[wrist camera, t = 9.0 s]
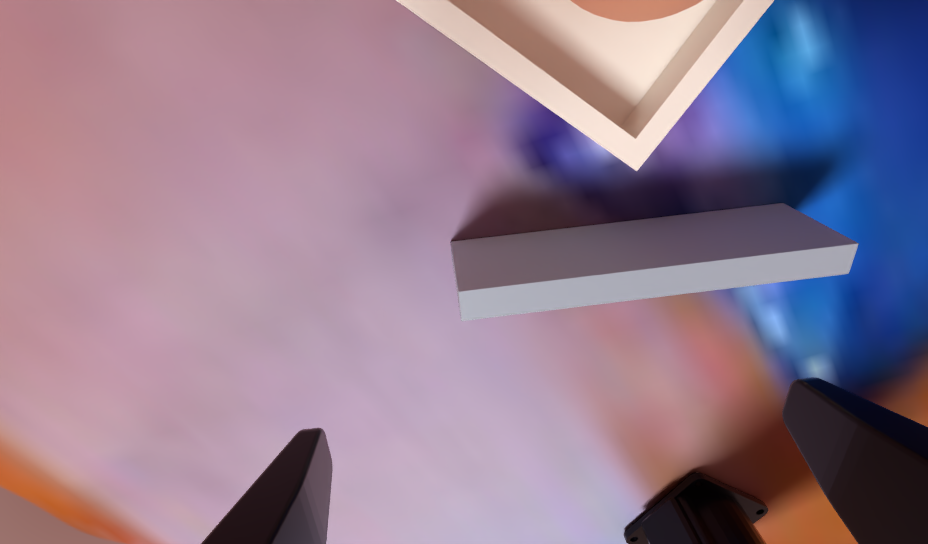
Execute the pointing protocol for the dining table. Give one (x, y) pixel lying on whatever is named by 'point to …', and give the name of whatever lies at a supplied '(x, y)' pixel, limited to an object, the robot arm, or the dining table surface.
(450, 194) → the dining table surface
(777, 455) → the dining table surface
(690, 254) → the rail
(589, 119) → the tray
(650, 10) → the ball
